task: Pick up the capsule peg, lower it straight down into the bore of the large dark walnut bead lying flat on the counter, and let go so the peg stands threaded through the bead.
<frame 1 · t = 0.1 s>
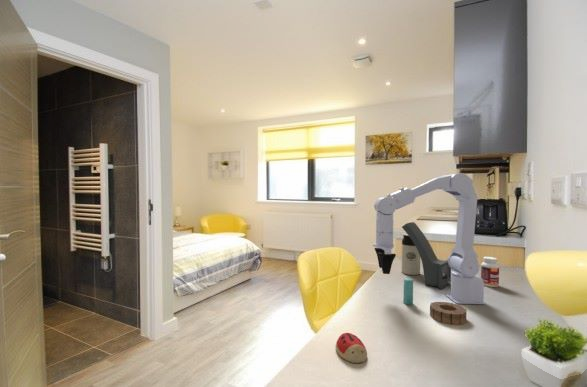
hand: (384, 270, 106), 10 cm above the counter, tool pointing down, fingers open, 7 cm apart
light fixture: (425, 282, 126), on the counter
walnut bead: (447, 317, 91), on the counter
travel mug: (410, 273, 140), on the counter
pill bottle: (489, 285, 123), on the counter
ladybug figurine: (350, 354, 71), on the counter
capsule peg: (408, 303, 102), on the counter
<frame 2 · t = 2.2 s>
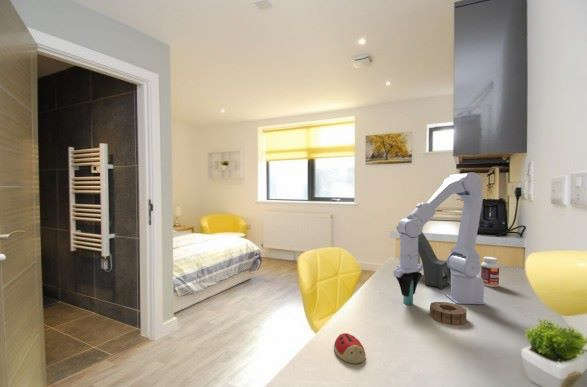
hand: (408, 294, 102), 3 cm above the counter, tool pointing down, fingers closed on capsule peg, 3 cm apart
capsule peg: (408, 303, 102), on the counter, touching gripper
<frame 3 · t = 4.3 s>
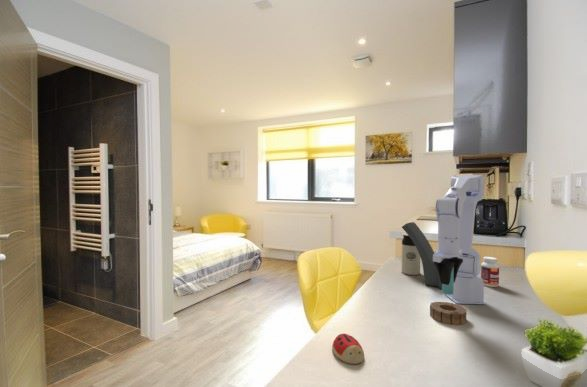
hand: (447, 282, 91), 10 cm above the counter, tool pointing down, fingers closed on capsule peg, 3 cm apart
capsule peg: (447, 292, 91), point 7 cm above the counter, touching gripper
when the fingers open (4 cm above the counter, at t = 6.8 s): capsule peg drops 1 cm, resting in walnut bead.
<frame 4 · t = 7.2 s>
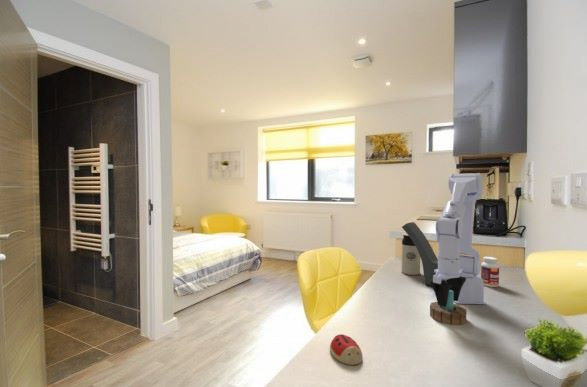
hand: (448, 302, 91), 4 cm above the counter, tool pointing down, fingers open, 7 cm apart
capsule peg: (447, 317, 91), resting in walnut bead
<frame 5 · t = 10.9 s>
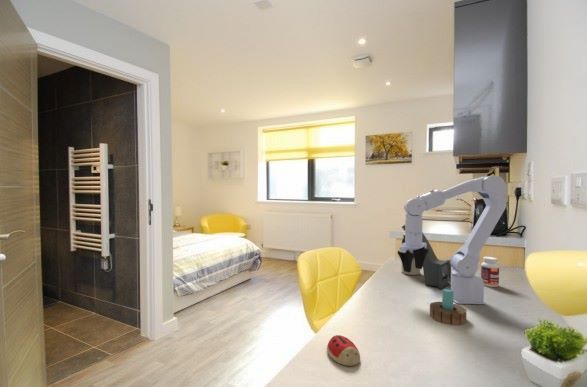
hand: (413, 270, 109), 9 cm above the counter, tool pointing down, fingers open, 7 cm apart
at the end: capsule peg 0.0 cm from the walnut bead (horizontally); capsule peg resting in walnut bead; capsule peg tilted 1° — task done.
